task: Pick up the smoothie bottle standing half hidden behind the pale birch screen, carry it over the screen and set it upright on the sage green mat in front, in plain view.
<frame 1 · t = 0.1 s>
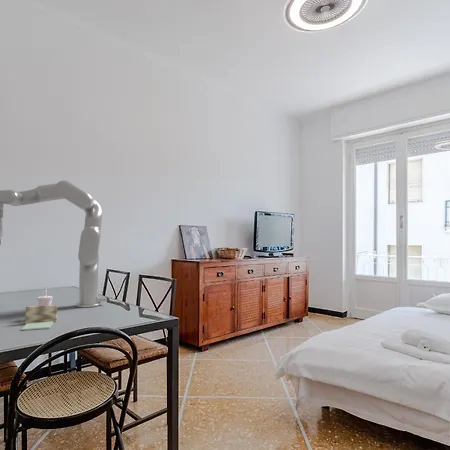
mat: (37, 326, 146), on the table
smoothie: (44, 318, 161), on the table
screen: (41, 322, 153), on the table
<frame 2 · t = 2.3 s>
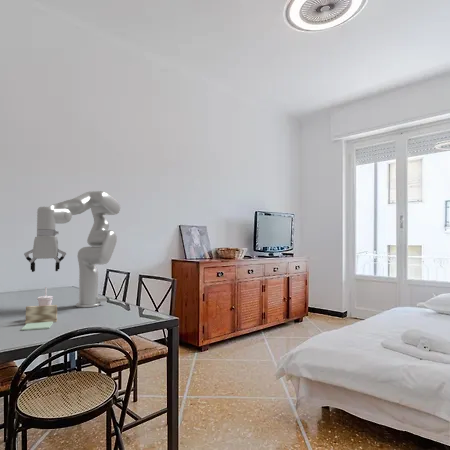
hand: (45, 271, 162), 21 cm above the table, tool pointing down, fingers open, 9 cm apart
nothing on the table moved.
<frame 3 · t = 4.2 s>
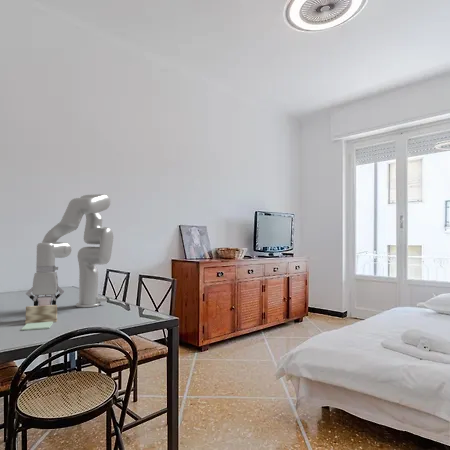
hand: (44, 309, 161), 4 cm above the table, tool pointing down, fingers closed on smoothie, 6 cm apart
smoothie: (44, 318, 161), on the table, touching gripper
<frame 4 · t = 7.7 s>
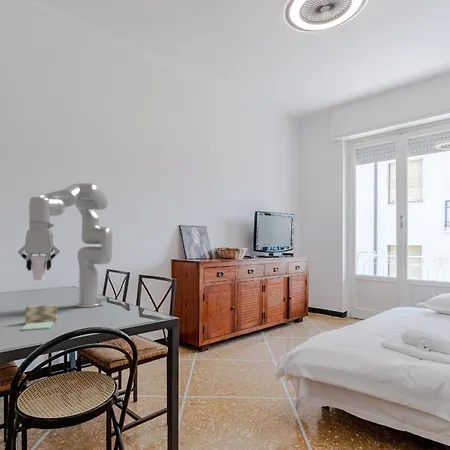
hand: (38, 269, 147), 23 cm above the table, tool pointing down, fingers closed on smoothie, 6 cm apart
smoothie: (38, 280, 147), point 19 cm above the table, touching gripper
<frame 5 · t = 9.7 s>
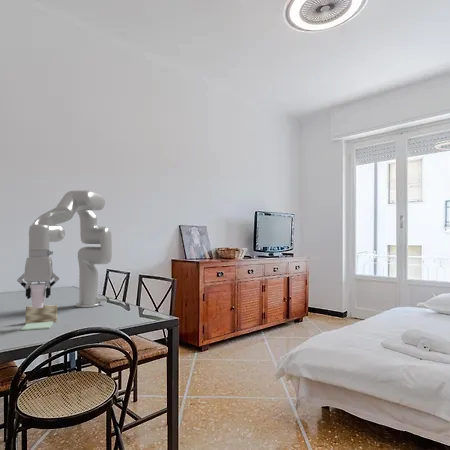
hand: (38, 297, 146), 12 cm above the table, tool pointing down, fingers closed on smoothie, 6 cm apart
smoothie: (38, 308, 146), point 8 cm above the table, touching gripper
when the fingers open (6 cm above the table, at t = 11.4 s): smoothie drops 1 cm, resting on mat.
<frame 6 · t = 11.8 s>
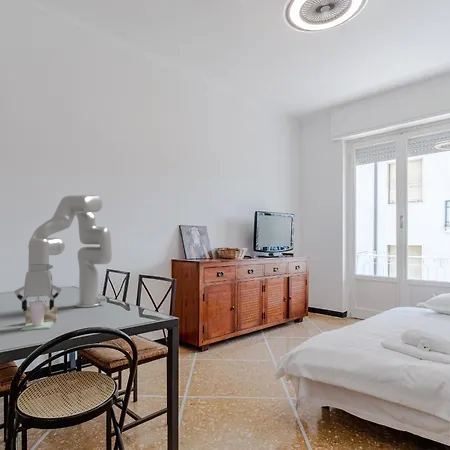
hand: (38, 310, 146), 7 cm above the table, tool pointing down, fingers open, 9 cm apart
smoothie: (37, 325, 146), resting on mat
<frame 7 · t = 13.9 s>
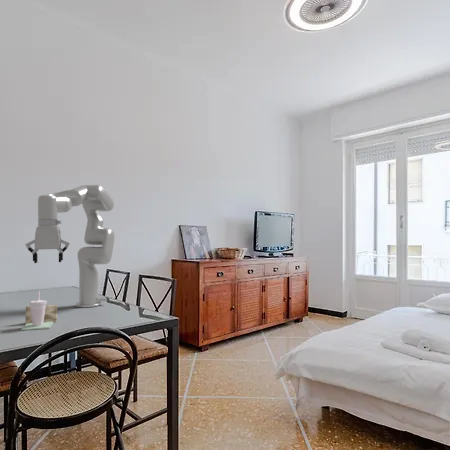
hand: (48, 262, 156), 26 cm above the table, tool pointing down, fingers open, 9 cm apart
nothing on the table moved.
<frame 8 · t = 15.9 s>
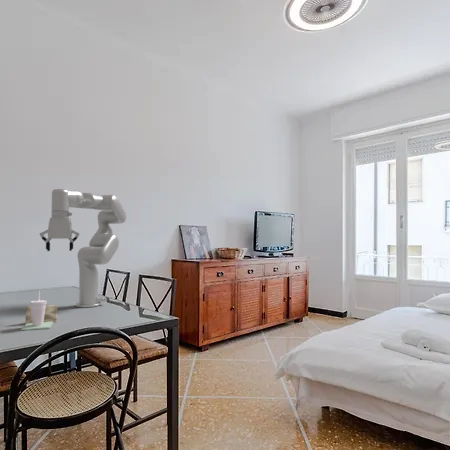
hand: (59, 250, 169), 30 cm above the table, tool pointing down, fingers open, 9 cm apart
nothing on the table moved.
at the end: smoothie inside the target area on the mat (0.2 cm from its centre), point 0.4 cm above the mat's base; smoothie tilted 0°; the gripper is holding nothing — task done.
